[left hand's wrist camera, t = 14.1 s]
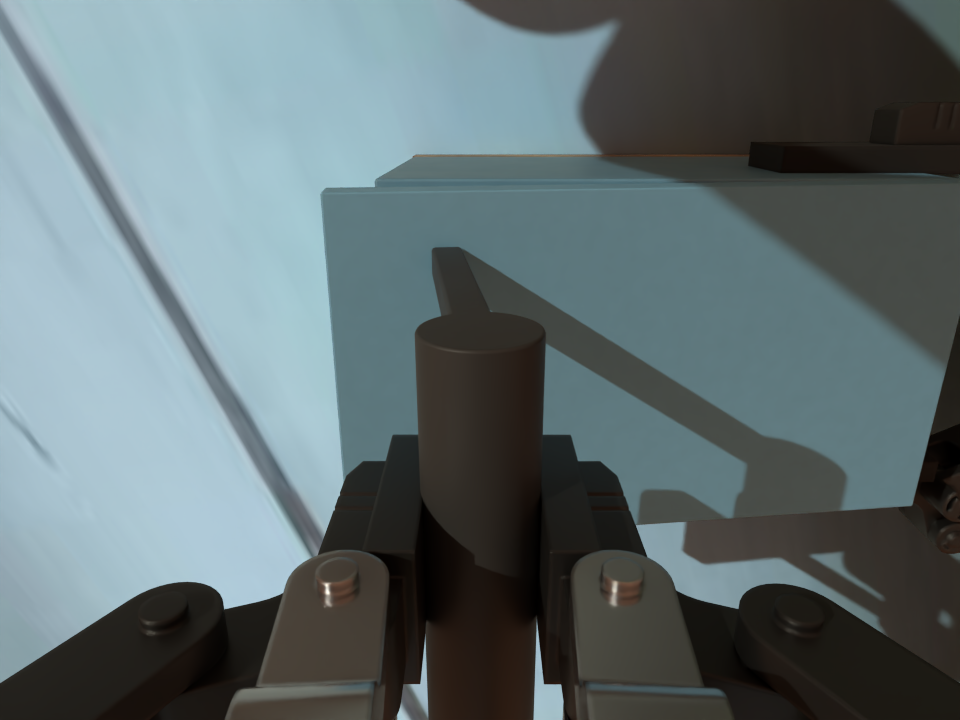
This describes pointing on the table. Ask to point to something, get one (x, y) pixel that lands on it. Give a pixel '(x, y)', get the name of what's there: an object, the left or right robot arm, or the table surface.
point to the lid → (630, 367)
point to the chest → (600, 170)
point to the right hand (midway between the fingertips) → (743, 315)
